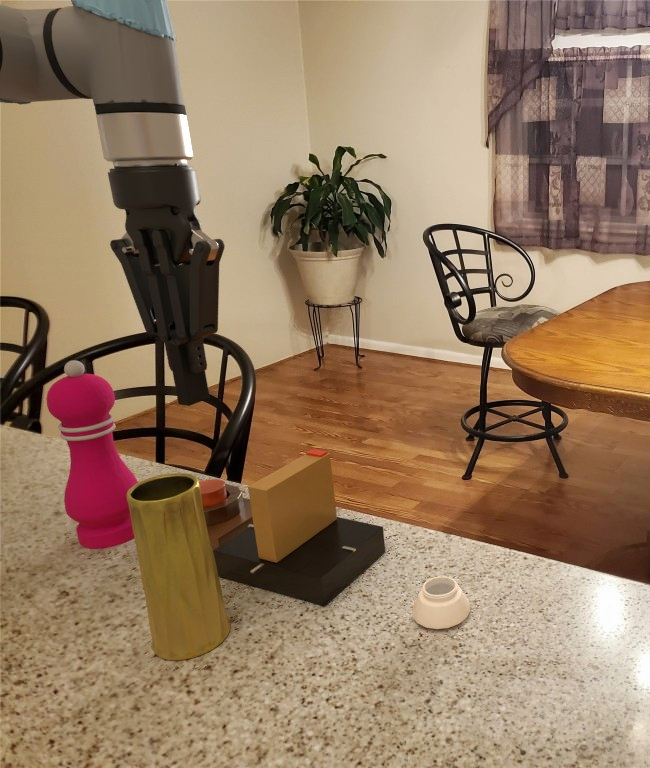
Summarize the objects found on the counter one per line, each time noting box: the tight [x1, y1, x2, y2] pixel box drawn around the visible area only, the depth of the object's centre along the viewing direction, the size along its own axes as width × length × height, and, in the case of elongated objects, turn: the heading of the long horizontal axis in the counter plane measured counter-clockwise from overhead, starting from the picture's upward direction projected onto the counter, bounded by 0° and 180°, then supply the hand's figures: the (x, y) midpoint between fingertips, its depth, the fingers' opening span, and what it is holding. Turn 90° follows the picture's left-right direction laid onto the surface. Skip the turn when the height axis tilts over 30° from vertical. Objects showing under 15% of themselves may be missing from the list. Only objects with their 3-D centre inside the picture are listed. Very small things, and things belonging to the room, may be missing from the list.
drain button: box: [199, 478, 227, 507], centre depth 75 cm, size 4×4×2 cm
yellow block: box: [247, 448, 338, 563], centre depth 67 cm, size 9×2×8 cm, turn 156°
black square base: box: [213, 506, 386, 607], centre depth 69 cm, size 13×13×3 cm
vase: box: [127, 472, 231, 661], centre depth 57 cm, size 6×6×14 cm
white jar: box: [412, 575, 471, 630], centre depth 60 cm, size 5×3×5 cm
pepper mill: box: [46, 359, 139, 550], centre depth 73 cm, size 7×7×20 cm
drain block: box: [203, 483, 254, 550], centre depth 76 cm, size 10×8×4 cm
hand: (194, 400), depth 72 cm, fingers closed
